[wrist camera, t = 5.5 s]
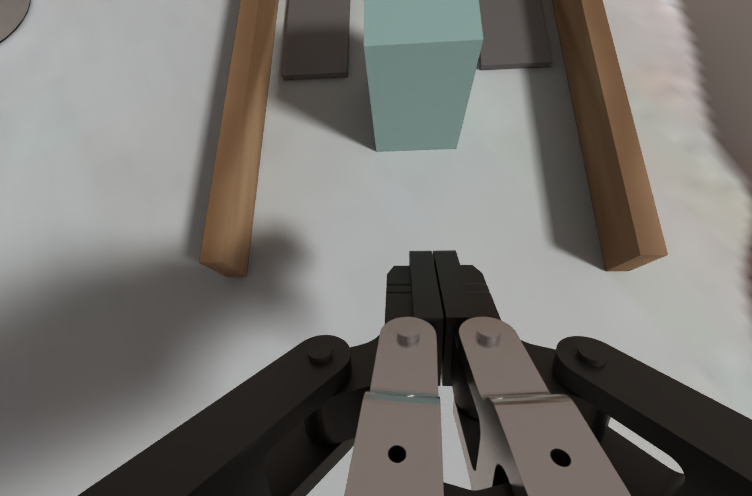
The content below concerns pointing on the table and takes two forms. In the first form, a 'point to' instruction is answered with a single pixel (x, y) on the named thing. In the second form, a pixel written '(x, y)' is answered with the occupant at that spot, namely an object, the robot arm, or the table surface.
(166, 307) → the table surface
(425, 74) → the block
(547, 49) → the trap pads
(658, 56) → the table surface
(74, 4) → the table surface
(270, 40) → the lane box
